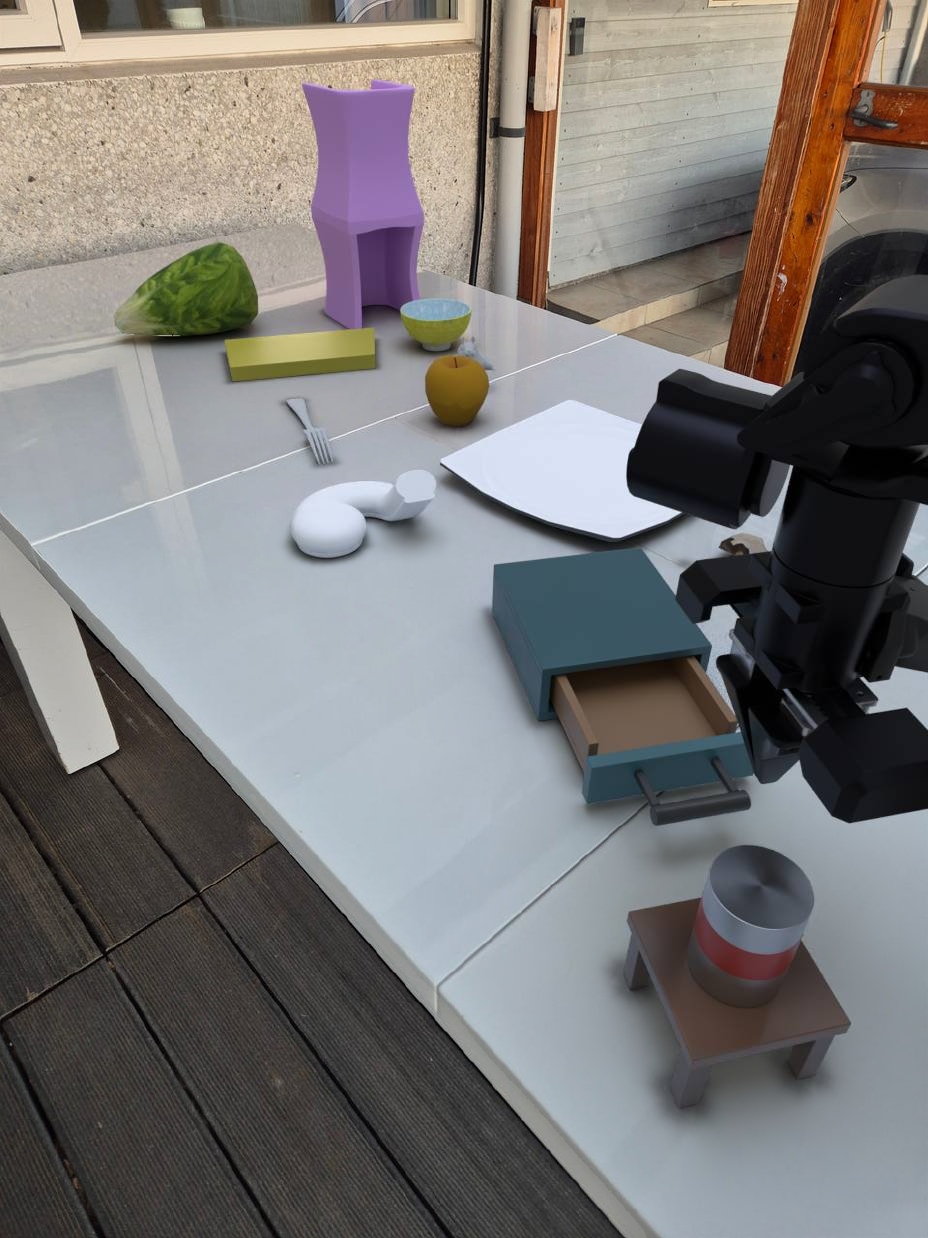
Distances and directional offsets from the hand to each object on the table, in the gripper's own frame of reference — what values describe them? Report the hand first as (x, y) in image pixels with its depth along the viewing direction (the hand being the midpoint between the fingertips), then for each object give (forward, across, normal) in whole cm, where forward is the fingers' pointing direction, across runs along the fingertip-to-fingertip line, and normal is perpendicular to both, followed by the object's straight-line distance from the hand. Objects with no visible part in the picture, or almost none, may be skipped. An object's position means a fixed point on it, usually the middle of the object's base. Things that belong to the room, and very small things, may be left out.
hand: (765, 778), depth 52 cm
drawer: (+11, +14, 0) cm, 18 cm away
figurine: (+12, +90, -3) cm, 91 cm away
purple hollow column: (+12, +126, +6) cm, 127 cm away
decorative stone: (+12, +38, -19) cm, 45 cm away
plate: (+12, +60, -11) cm, 62 cm away
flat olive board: (+12, +106, +19) cm, 109 cm away
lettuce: (+12, +122, +37) cm, 129 cm away
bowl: (+12, +108, -2) cm, 109 cm away
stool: (+12, -8, +4) cm, 15 cm away
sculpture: (+12, +54, +18) cm, 58 cm away
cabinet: (+12, +28, 0) cm, 30 cm away
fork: (+12, +80, +21) cm, 84 cm away
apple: (+12, +80, +1) cm, 80 cm away
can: (+6, -8, +4) cm, 11 cm away
